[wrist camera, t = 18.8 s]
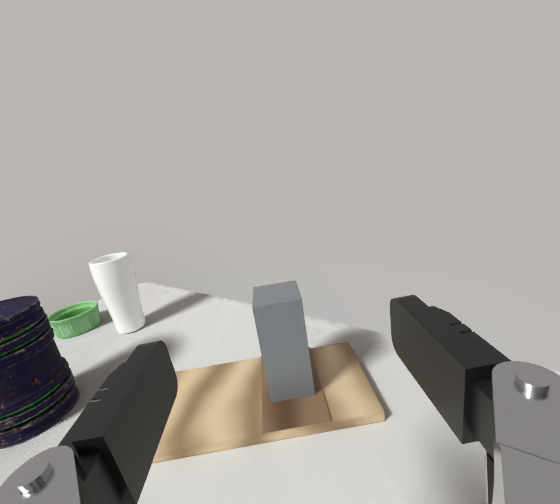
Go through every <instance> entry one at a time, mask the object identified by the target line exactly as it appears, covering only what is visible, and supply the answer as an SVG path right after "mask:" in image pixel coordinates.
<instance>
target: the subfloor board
mask: <svg viewBox="0 0 560 504" xmlns="http://www.w3.org/2000/svg"><path fill="white" fill-rule="evenodd" d="M309 355H310V362H311V370H312V377H313V384H314V391H315V395H313V396H307V397H301V398H295V399H290V400H284V401H278V402H273V403H271V400H270V395H269V389H268V384H267V379H266V374H265V369H264V364H263V359H262V356H261V357H259V358H254V359H248V360H242V361H236V362H230V363H225V364H219V365H213V366H207V367H201V368H196V369H190V370H184V371H178V372H175V373H176V376H177V381H178V391H177V396H176V399H175V401H174V404H173V407H172V410H171V412H170V415H169V418H168V421H167V423H166V426H165V429H164V431H163V434H162V437H161V440H160V442H159V445H158V448H157V451H156V453H155V456H154V459H153V462H152V463H156V462H161V461H167V460H172V459H178V458H183V457H189V456H194V455H200V454H205V453H211V452H216V451H222V450H227V449H233V448H238V447H244V446H249V445H255V444H260V443H266V442H271V441H277V440H282V439H288V438H293V437H299V436H304V435H310V434H315V433H321V432H326V431H332V430H337V429H343V428H348V427H354V426H359V425H365V424H371V423H376V422H382V421H385V412H384V410H383V408H382V406H381V404H380V402H379V400H378V398H377V396H376V394H375V393H374V391H373V389H372V387H371V385H370V383H369V381H368V379H367V377H366V375H365V373H364V371H363V370H362V368H361V366H360V364H359V362H358V360H357V358H356V356H355V354H354V352H353V350H352V348H351V347H350V345H349V343H348V342H346V343H340V344H334V345H329V346H323V347H317V348H311V349H310V348H309Z"/></svg>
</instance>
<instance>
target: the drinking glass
mask: <svg viewBox="0 0 560 504" xmlns="http://www.w3.org/2000/svg"><path fill="white" fill-rule="evenodd" d="M89 268H90V271H91V274H92V277H93V280H94V282H95V285H96V286H97V289H98V291H99V293H100V295H101V297H102V299H103V301H104V303H105V305H106V307H107V309H108V311H109V313H110V316H111V318H112V320H113V322H114V324H115V327H116V330H117V331H118V332H119V333H121V334H127V333H131V332H134V331H136V330H138V329H140V328H141V327H143V326H144V324H145V322H146V319H145V316H144V313H143V309H142V304H141V300H140V295H139V290H138V286H137V281H136V276H135V272H134V269H133V266H132V263H131V260H130V257H129V255H128V253H126V252H124V253H115V254H110V255H106V256H102V257H99V258H96V259H94V260H92V261H90V262H89Z"/></svg>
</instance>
